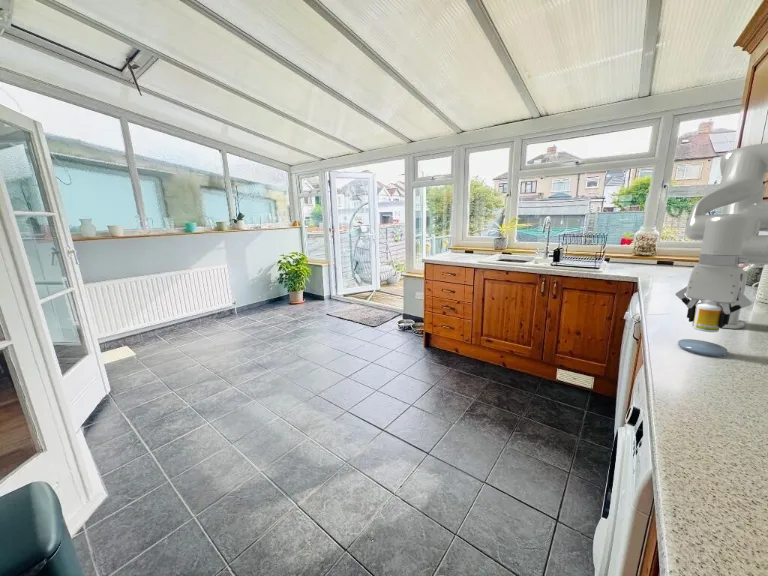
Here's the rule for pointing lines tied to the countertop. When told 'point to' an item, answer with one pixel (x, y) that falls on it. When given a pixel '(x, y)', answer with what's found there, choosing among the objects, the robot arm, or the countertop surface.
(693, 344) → the pale blue round plate
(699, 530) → the countertop surface
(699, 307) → the supplement bottle
